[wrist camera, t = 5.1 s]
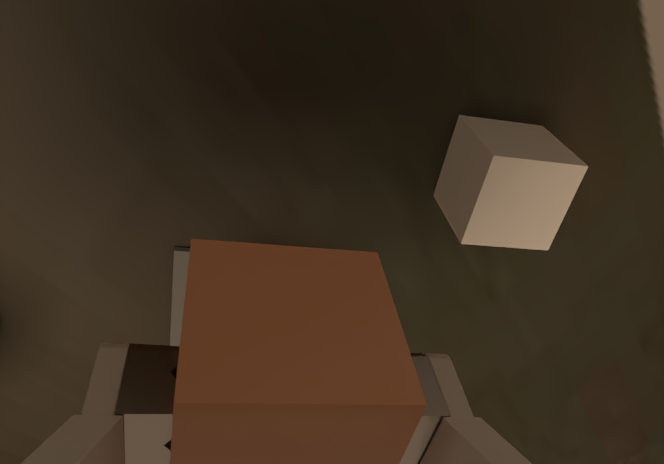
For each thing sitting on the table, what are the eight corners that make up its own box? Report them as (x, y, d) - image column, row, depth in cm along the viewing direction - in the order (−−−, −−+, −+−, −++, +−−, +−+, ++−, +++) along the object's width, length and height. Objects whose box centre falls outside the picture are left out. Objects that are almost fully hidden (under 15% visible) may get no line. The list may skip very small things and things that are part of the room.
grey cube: (458, 114, 24) (493, 155, 20) (541, 124, 25) (588, 166, 21) (432, 194, 26) (460, 243, 23) (510, 202, 27) (548, 250, 23)
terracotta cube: (191, 238, 11) (174, 402, 8) (377, 252, 12) (427, 405, 9) (182, 368, 14) (165, 535, 10) (340, 371, 14) (369, 527, 11)
